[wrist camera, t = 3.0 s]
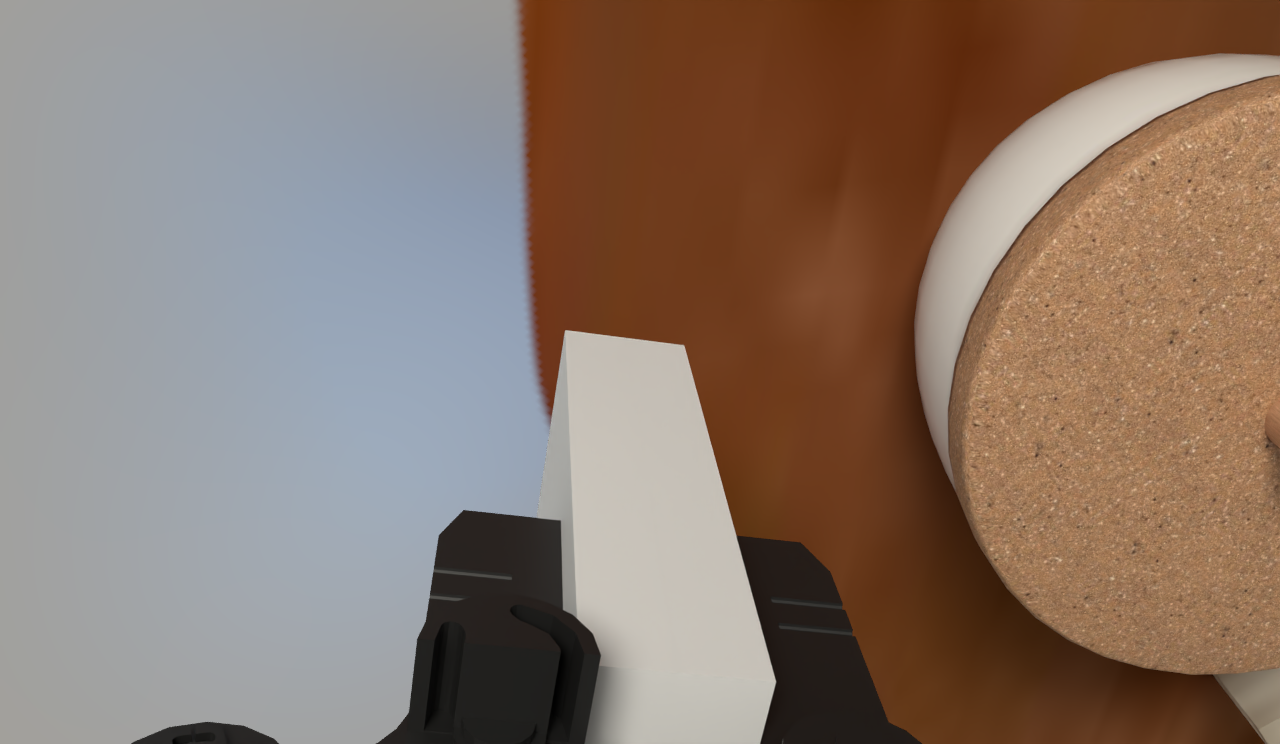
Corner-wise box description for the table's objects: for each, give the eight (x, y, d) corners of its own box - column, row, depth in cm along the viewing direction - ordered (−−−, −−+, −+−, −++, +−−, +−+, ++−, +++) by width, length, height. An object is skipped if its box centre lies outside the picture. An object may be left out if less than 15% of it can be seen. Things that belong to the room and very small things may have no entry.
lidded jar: (1141, -112, 23) (1475, -77, 15) (1431, 237, 27) (1838, 429, 18) (755, 278, 26) (849, 497, 18) (1061, 549, 30) (1264, 841, 21)
